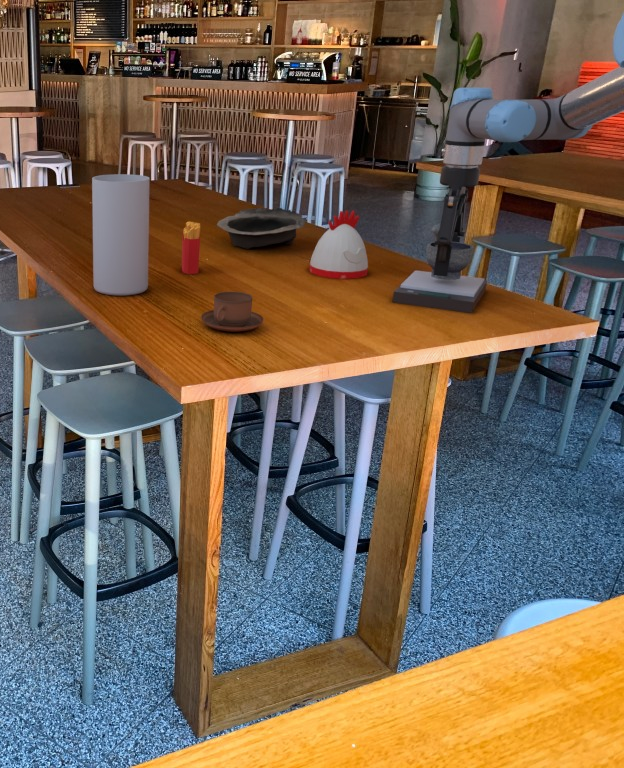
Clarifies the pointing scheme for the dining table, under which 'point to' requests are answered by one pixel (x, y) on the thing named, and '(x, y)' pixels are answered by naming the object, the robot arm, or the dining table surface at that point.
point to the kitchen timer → (340, 250)
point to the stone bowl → (262, 227)
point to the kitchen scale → (440, 292)
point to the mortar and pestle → (458, 258)
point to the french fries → (190, 248)
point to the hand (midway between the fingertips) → (444, 270)
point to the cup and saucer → (232, 313)
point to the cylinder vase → (120, 234)
